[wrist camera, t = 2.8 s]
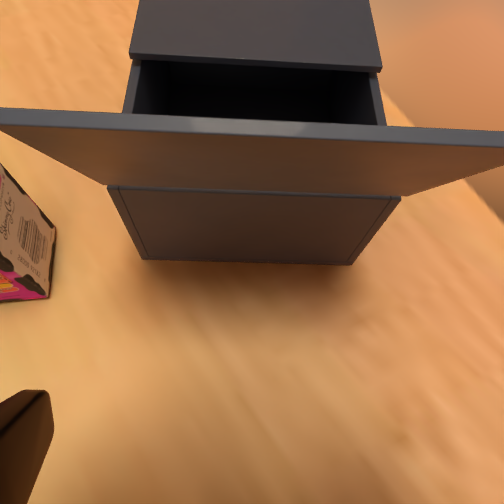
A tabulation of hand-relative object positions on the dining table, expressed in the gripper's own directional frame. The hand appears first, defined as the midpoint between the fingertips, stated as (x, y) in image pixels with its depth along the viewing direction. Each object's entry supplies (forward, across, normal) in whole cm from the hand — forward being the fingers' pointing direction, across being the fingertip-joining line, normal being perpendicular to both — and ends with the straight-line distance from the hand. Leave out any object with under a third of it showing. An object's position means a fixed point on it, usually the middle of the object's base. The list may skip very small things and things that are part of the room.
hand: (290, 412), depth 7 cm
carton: (+21, 0, -2) cm, 21 cm away
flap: (+7, 0, -4) cm, 8 cm away
